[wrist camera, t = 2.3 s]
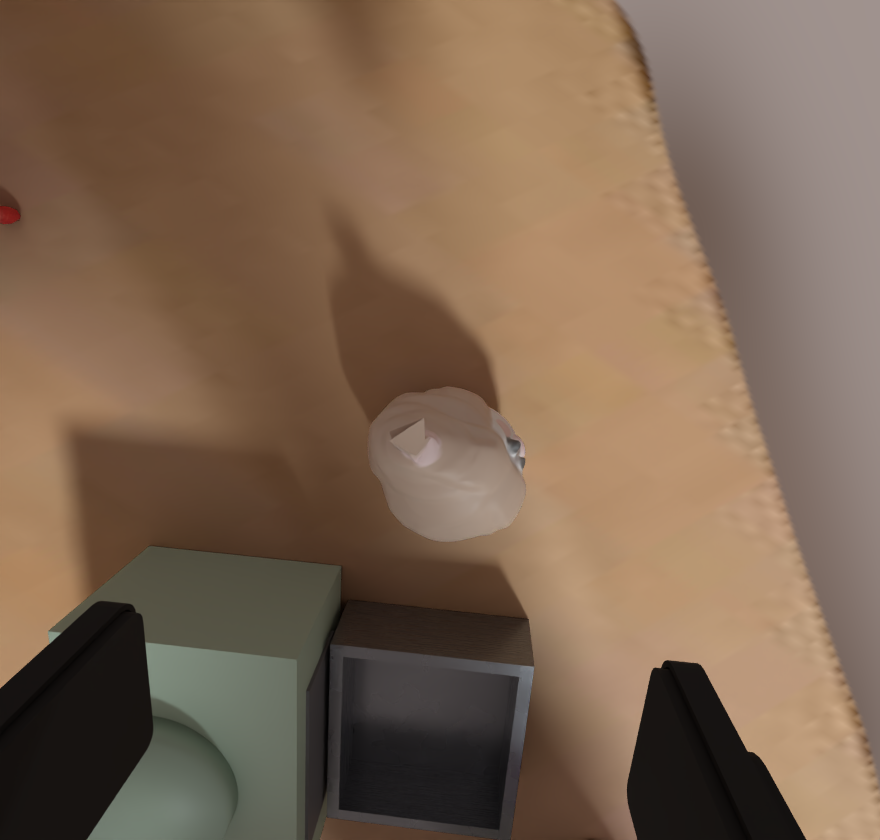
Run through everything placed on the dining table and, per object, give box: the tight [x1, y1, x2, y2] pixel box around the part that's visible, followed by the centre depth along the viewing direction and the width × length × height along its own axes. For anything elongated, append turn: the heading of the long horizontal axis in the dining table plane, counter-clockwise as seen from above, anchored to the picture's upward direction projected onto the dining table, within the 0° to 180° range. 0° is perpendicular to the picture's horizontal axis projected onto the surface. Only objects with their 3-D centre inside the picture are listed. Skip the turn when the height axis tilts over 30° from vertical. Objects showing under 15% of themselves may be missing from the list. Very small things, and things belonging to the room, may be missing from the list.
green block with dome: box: [48, 546, 341, 840], centre depth 27 cm, size 10×14×8 cm
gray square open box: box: [327, 600, 534, 840], centre depth 28 cm, size 9×10×4 cm
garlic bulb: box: [368, 386, 526, 542], centre depth 22 cm, size 7×6×8 cm
